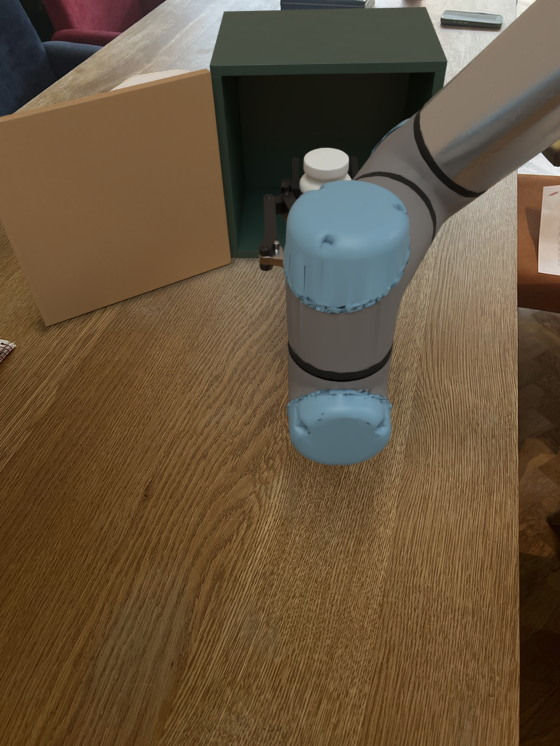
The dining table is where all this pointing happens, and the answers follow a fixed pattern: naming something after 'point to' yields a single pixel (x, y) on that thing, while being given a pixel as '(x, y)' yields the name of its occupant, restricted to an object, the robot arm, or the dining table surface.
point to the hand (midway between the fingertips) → (324, 168)
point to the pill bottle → (323, 168)
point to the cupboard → (311, 96)
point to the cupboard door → (114, 193)
